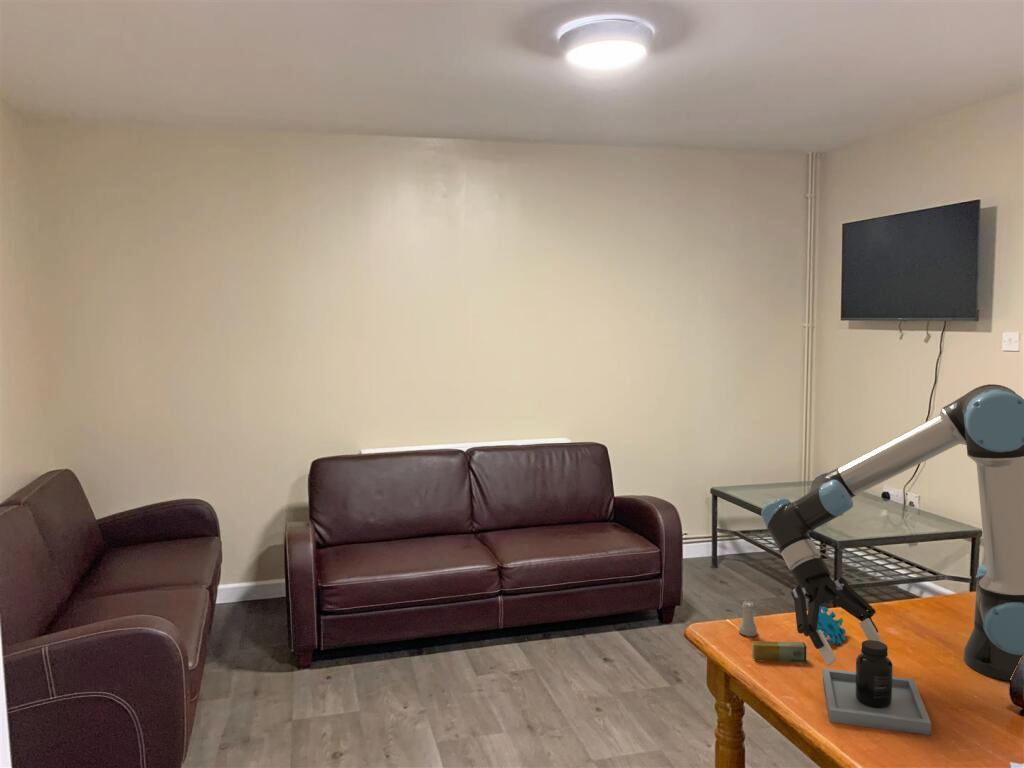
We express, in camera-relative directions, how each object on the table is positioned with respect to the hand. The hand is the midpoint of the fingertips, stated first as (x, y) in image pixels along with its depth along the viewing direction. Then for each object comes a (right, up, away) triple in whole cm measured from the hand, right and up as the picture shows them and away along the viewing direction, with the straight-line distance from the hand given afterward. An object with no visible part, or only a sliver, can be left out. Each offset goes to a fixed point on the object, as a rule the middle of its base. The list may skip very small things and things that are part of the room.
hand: (856, 656), depth 164 cm
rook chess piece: (-13, -6, +32) cm, 35 cm away
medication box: (-10, -7, +18) cm, 22 cm away
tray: (+2, -9, -3) cm, 10 cm away
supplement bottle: (+2, -8, -3) cm, 9 cm away
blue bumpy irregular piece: (+6, -6, +28) cm, 30 cm away
